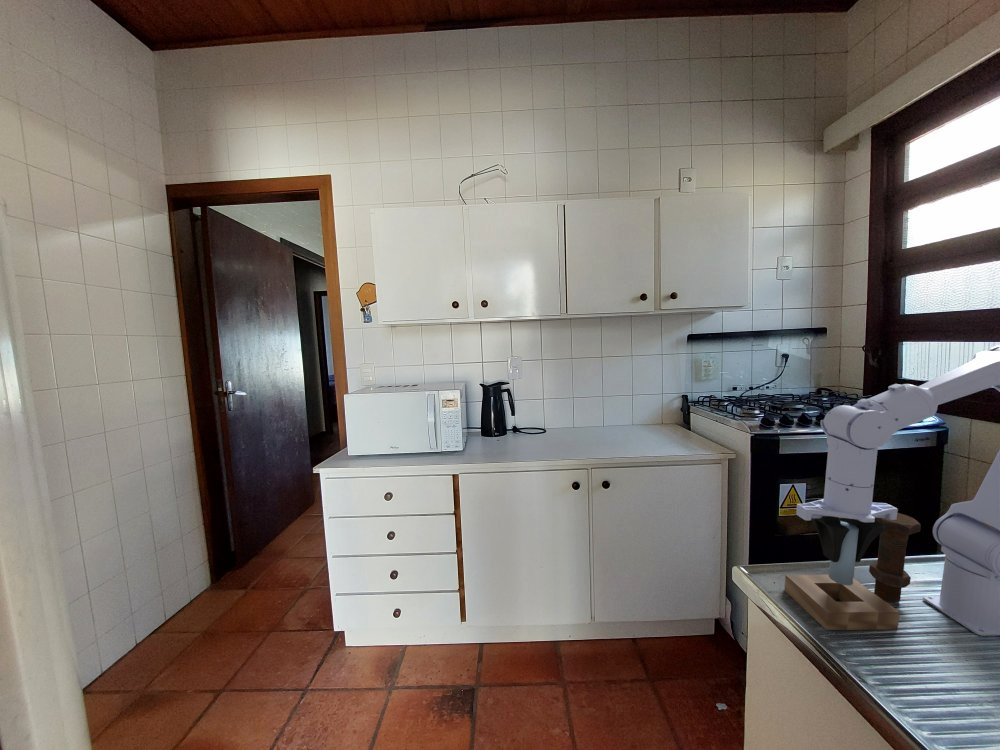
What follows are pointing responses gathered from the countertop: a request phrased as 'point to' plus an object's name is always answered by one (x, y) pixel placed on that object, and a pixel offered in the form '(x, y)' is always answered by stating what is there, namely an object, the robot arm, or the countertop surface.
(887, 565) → the bolt
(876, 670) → the countertop surface
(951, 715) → the countertop surface
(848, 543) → the dowel
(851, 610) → the hole block
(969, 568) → the robot arm
